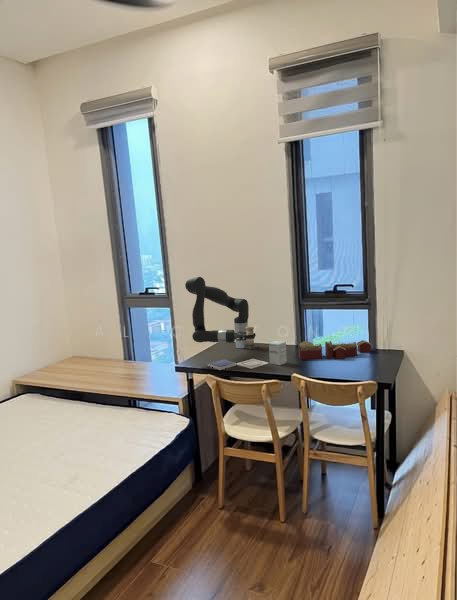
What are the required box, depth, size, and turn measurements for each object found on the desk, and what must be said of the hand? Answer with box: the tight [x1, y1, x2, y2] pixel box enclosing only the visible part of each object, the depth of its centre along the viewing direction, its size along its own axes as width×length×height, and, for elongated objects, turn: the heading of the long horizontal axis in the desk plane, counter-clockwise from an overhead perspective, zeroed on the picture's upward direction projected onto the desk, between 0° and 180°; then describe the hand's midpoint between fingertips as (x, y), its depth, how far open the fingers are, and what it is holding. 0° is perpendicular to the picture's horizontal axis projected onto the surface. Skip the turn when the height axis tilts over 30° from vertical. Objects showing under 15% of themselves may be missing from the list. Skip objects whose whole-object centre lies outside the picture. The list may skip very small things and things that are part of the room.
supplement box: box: [268, 340, 287, 366], centre depth 264 cm, size 7×7×13 cm
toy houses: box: [297, 339, 373, 361], centre depth 274 cm, size 45×20×10 cm, turn 87°
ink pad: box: [207, 359, 237, 371], centre depth 267 cm, size 12×12×2 cm
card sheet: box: [236, 358, 269, 370], centre depth 267 cm, size 14×14×1 cm
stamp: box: [244, 325, 258, 350], centre depth 265 cm, size 5×5×12 cm
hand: (254, 335), depth 264 cm, fingers closed on stamp, 4 cm apart
